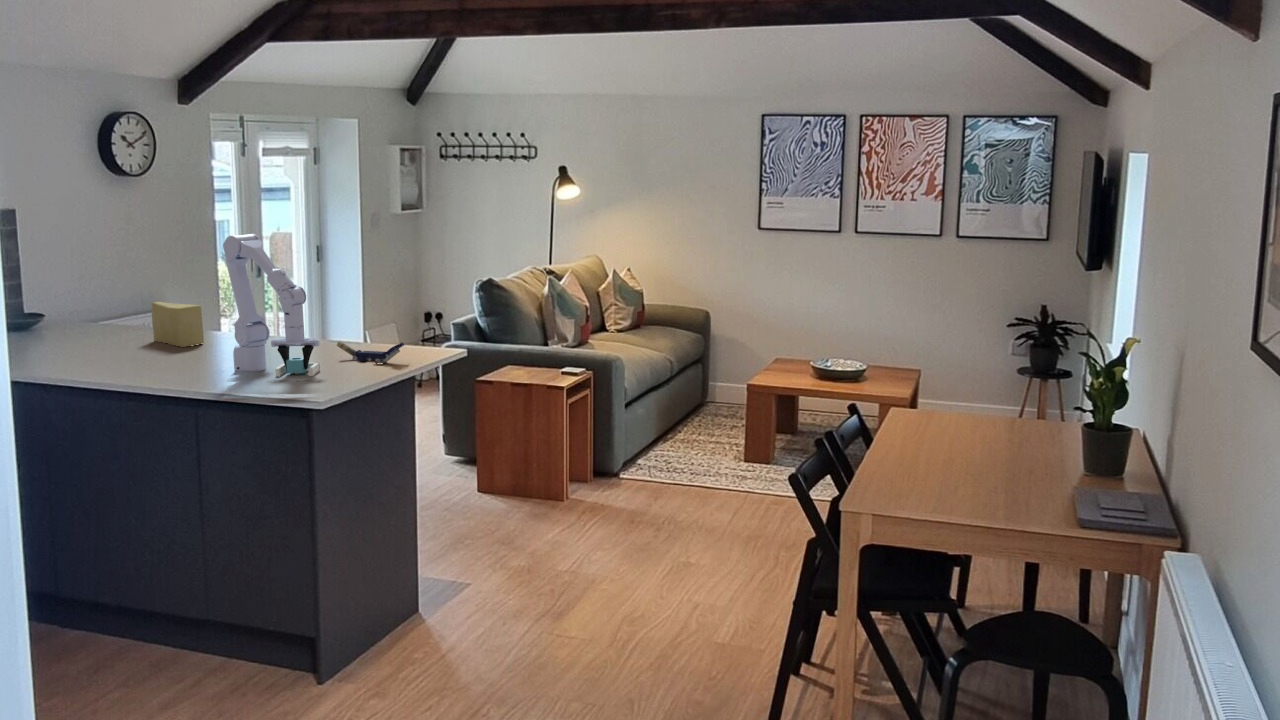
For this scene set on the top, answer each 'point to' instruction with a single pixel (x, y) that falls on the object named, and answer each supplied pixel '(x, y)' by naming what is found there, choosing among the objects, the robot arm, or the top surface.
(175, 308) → the cheese
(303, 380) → the board
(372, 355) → the toy
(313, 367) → the white u-shaped piece
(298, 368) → the blue square hollow block
